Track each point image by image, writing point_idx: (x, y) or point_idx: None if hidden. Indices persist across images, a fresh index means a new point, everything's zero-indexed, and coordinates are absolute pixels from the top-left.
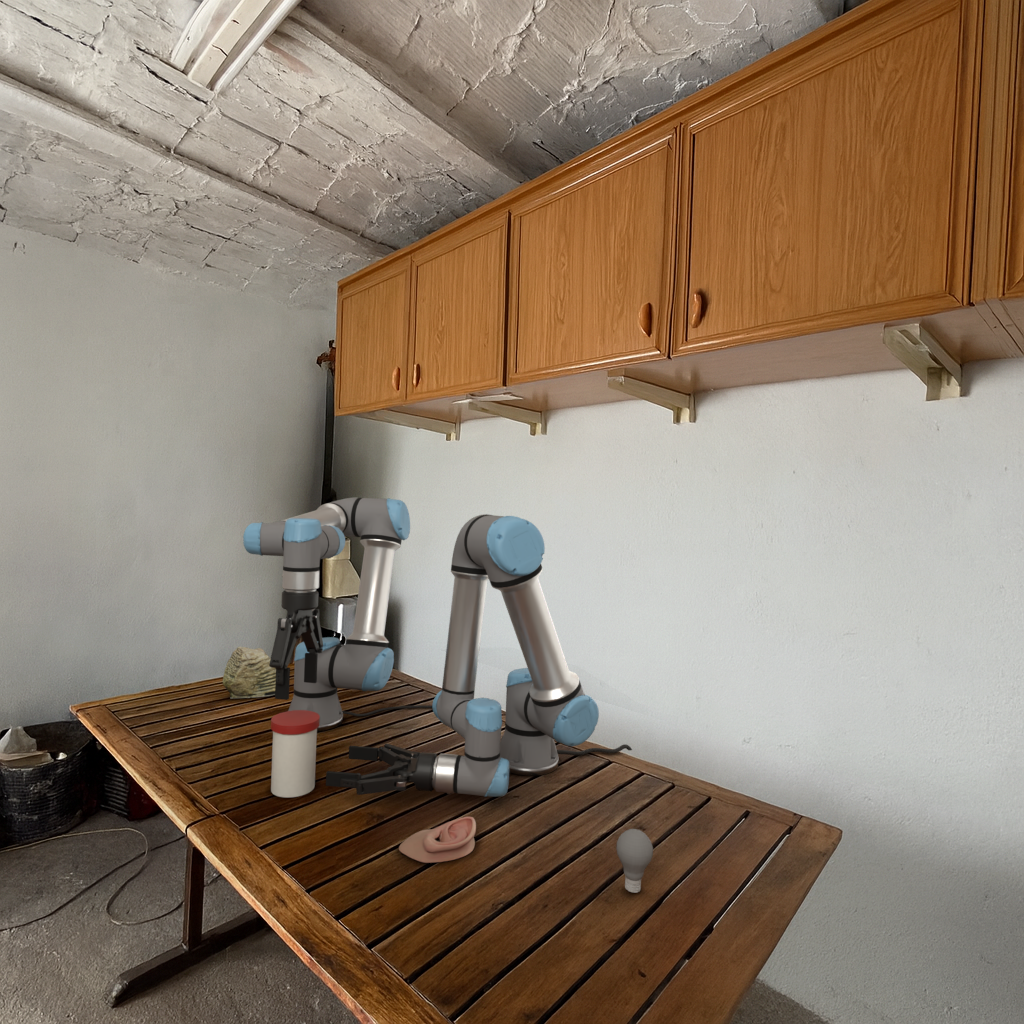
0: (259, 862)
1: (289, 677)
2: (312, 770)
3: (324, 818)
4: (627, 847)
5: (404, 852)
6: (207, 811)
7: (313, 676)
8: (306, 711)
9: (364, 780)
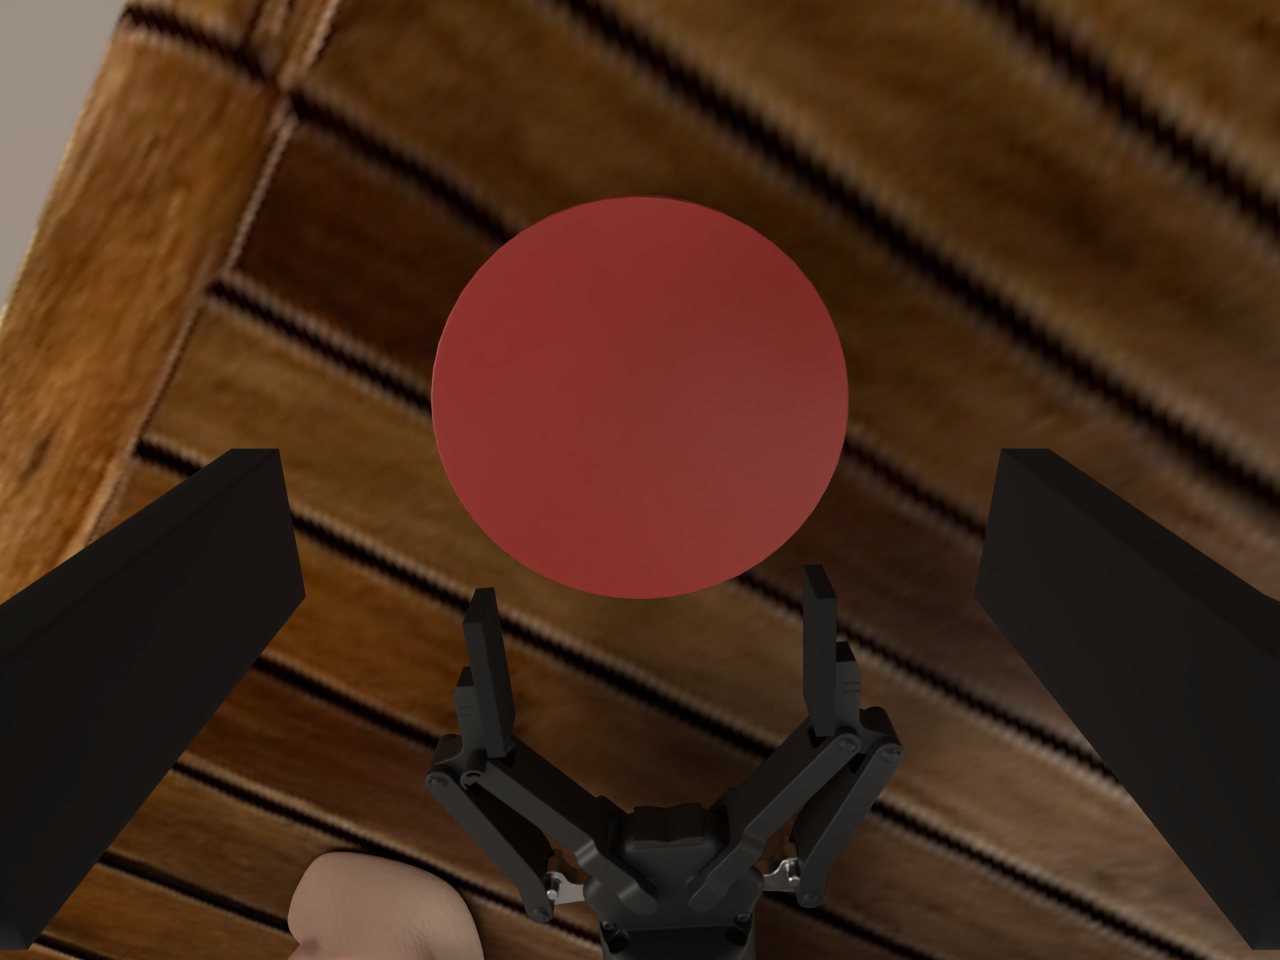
0: (60, 492)
1: (149, 786)
2: None
3: (426, 567)
4: None
5: (303, 877)
6: (277, 10)
7: (1015, 623)
8: (821, 428)
9: (456, 794)
